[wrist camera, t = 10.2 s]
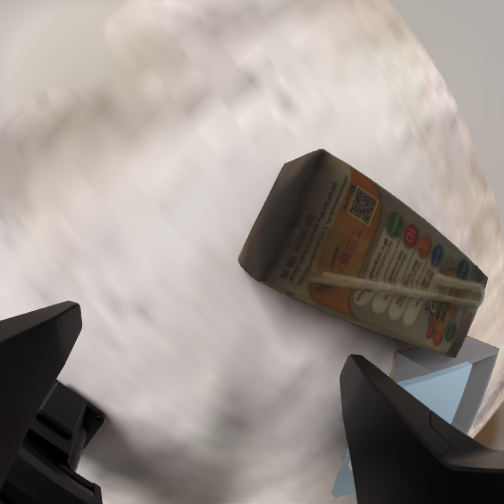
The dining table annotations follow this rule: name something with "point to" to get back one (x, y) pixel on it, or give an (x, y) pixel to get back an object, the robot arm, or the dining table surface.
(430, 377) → the blue plate with post
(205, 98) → the dining table surface
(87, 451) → the dining table surface
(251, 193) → the dining table surface
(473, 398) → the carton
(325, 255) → the beverage carton
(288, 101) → the dining table surface
